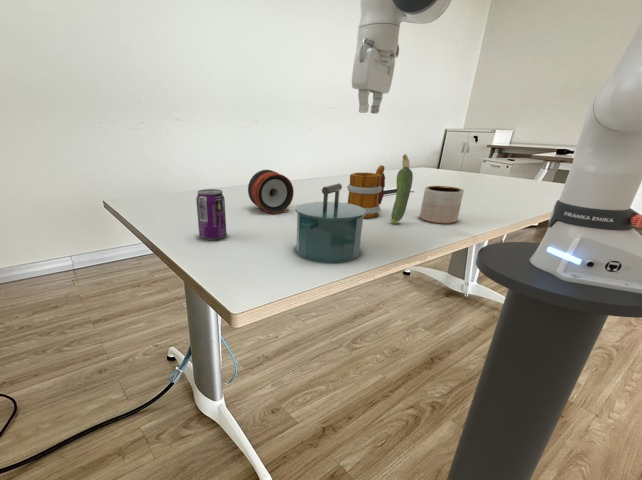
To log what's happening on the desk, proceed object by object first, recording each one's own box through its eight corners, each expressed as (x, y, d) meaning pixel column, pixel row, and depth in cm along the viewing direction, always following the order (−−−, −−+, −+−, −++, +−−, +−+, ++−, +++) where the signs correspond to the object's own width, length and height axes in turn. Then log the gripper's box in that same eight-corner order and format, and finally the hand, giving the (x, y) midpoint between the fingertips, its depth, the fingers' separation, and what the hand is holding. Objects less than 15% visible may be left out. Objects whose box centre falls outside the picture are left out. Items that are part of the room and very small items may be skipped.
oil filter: (257, 215, 112) (256, 174, 106) (246, 207, 122) (245, 169, 117) (293, 212, 116) (294, 172, 110) (279, 204, 126) (280, 167, 121)
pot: (374, 246, 84) (379, 208, 80) (333, 272, 70) (336, 227, 66) (323, 235, 93) (325, 200, 89) (277, 255, 79) (277, 215, 75)
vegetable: (400, 221, 106) (411, 152, 97) (408, 225, 102) (420, 154, 93) (387, 222, 105) (397, 153, 96) (394, 226, 101) (405, 154, 93)
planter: (439, 214, 114) (445, 184, 110) (465, 222, 105) (472, 190, 101) (411, 216, 111) (417, 186, 107) (435, 225, 102) (442, 193, 98)
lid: (377, 213, 79) (380, 184, 76) (344, 228, 68) (347, 194, 65) (319, 203, 88) (320, 177, 85) (281, 215, 77) (282, 185, 74)
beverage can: (229, 239, 89) (226, 192, 84) (201, 242, 87) (197, 194, 82) (223, 232, 95) (220, 188, 90) (197, 234, 93) (193, 189, 88)
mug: (337, 214, 114) (341, 167, 108) (367, 206, 124) (372, 163, 117) (364, 220, 106) (370, 170, 100) (393, 212, 116) (400, 166, 110)
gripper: (378, 33, 67) (370, 112, 73) (400, 50, 83) (392, 113, 89) (347, 36, 70) (341, 112, 75) (374, 52, 86) (368, 113, 92)
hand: (369, 113), depth 82 cm, fingers open, 8 cm apart
